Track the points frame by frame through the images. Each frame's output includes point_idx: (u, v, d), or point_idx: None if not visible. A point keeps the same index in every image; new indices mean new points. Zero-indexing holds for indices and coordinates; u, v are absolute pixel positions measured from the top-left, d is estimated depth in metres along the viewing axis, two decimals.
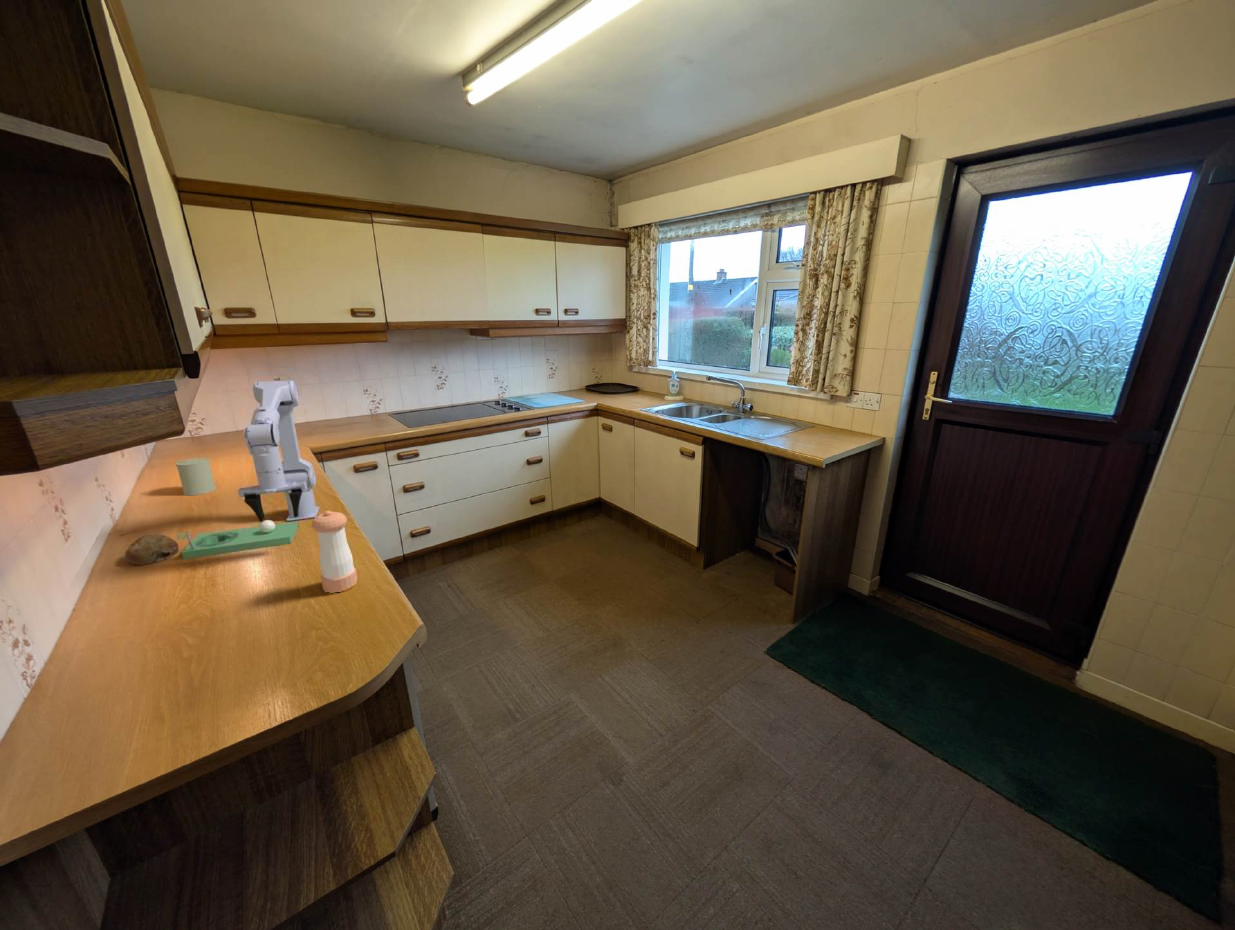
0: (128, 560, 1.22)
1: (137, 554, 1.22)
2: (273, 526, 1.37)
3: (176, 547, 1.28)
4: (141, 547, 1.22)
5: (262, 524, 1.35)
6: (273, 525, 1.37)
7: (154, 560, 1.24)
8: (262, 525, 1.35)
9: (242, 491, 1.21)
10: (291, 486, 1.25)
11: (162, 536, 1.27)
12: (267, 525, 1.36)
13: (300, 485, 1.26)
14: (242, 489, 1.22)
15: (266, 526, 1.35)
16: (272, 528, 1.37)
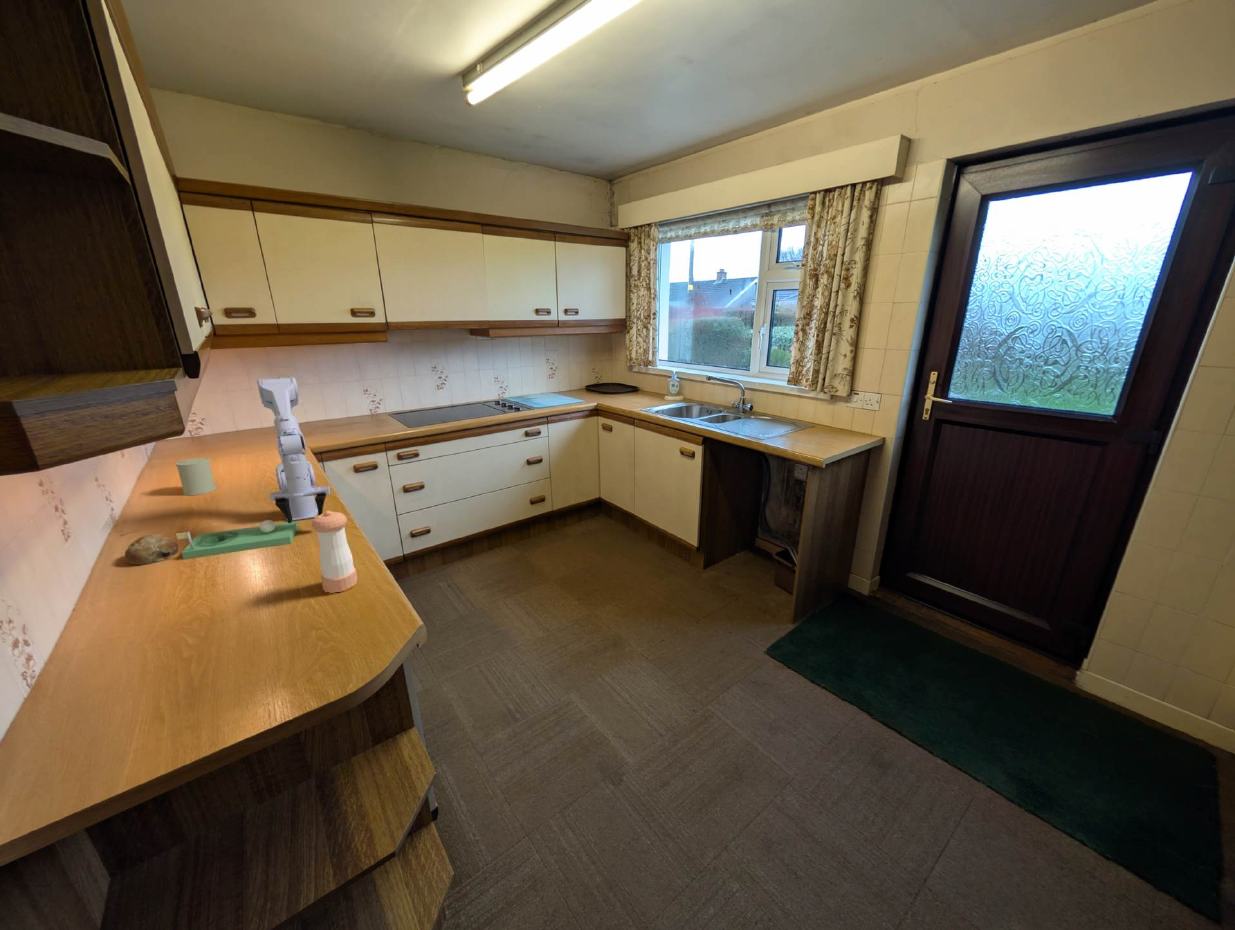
0: (128, 560, 1.22)
1: (137, 554, 1.22)
2: (273, 526, 1.37)
3: (176, 547, 1.28)
4: (141, 547, 1.22)
5: (262, 524, 1.35)
6: (273, 525, 1.37)
7: (154, 560, 1.24)
8: (262, 525, 1.35)
9: (273, 495, 1.35)
10: (316, 491, 1.38)
11: (162, 536, 1.27)
12: (267, 525, 1.36)
13: (324, 490, 1.40)
14: (273, 493, 1.35)
15: (266, 526, 1.35)
16: (272, 528, 1.37)
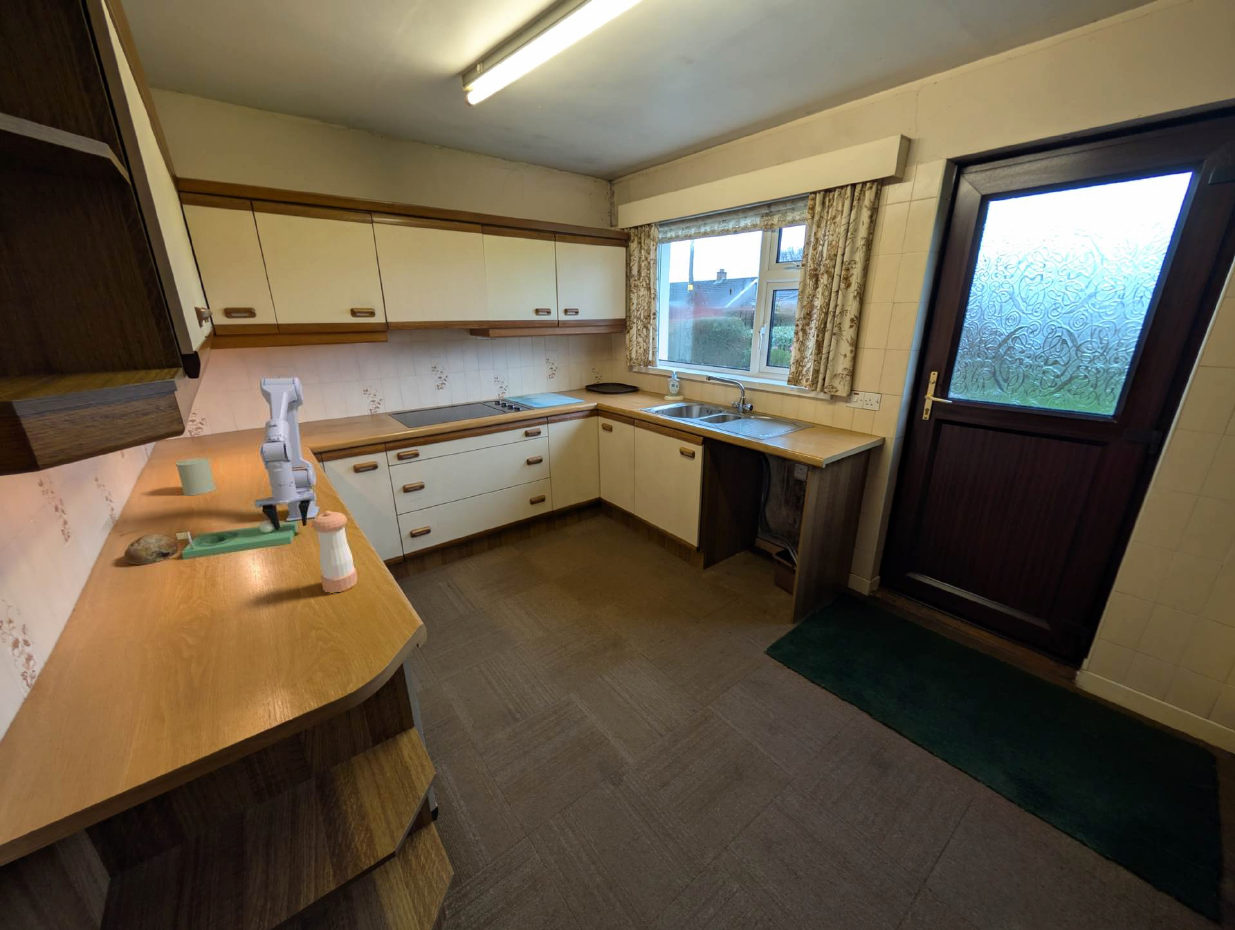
0: (127, 560, 1.22)
1: (137, 554, 1.22)
2: (273, 526, 1.37)
3: (175, 547, 1.28)
4: (141, 547, 1.22)
5: (262, 524, 1.35)
6: (273, 525, 1.37)
7: (153, 560, 1.24)
8: (262, 525, 1.35)
9: (258, 502, 1.34)
10: (302, 497, 1.37)
11: (161, 536, 1.27)
12: (266, 526, 1.36)
13: (310, 496, 1.39)
14: (258, 501, 1.34)
15: (265, 526, 1.35)
16: (272, 528, 1.37)
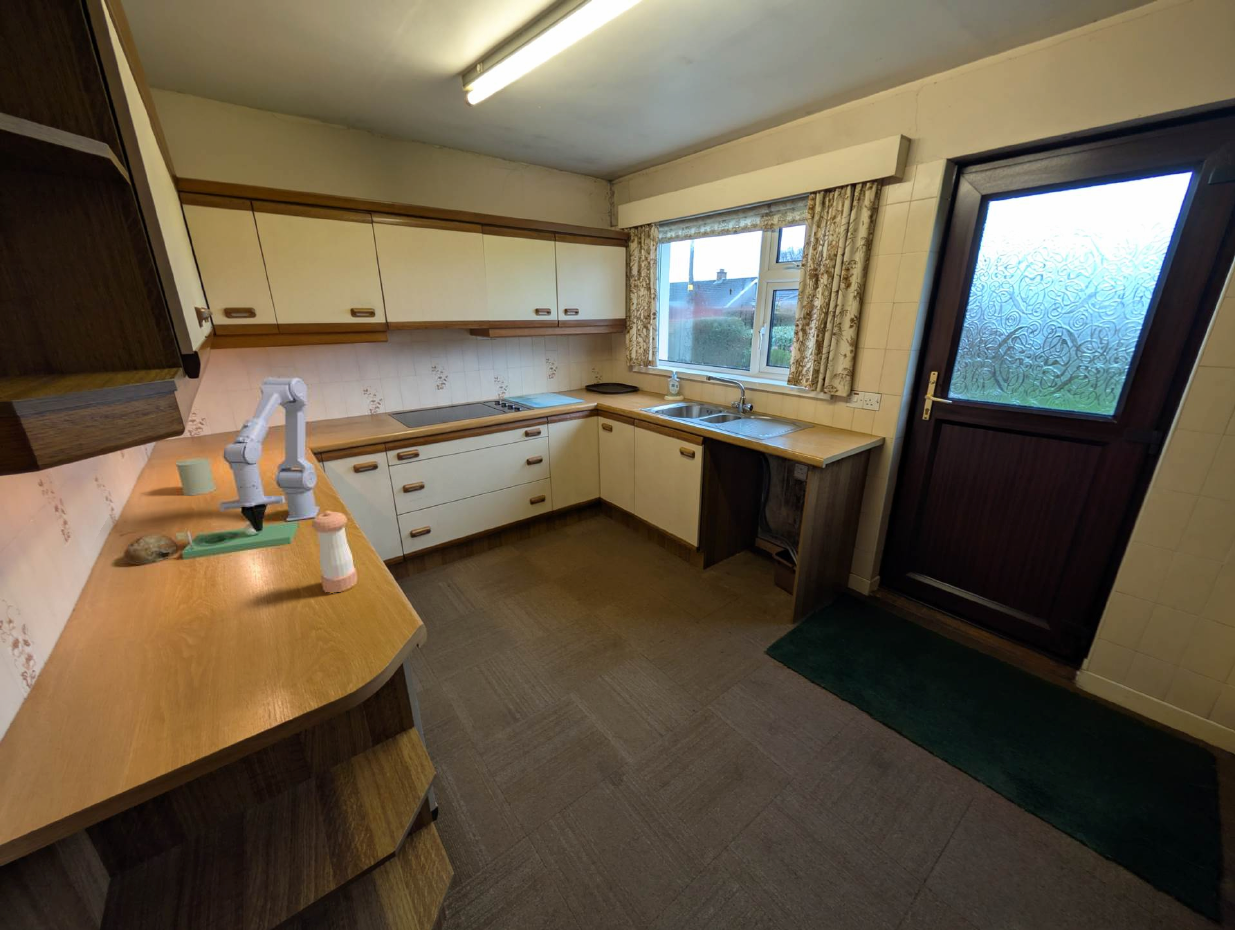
0: (127, 560, 1.22)
1: (136, 554, 1.22)
2: (247, 526, 1.34)
3: (175, 547, 1.28)
4: (140, 547, 1.22)
5: (249, 534, 1.35)
6: (246, 526, 1.34)
7: (153, 560, 1.24)
8: (250, 534, 1.34)
9: (223, 505, 1.30)
10: (269, 500, 1.34)
11: (161, 536, 1.27)
12: (248, 531, 1.34)
13: (278, 499, 1.35)
14: (223, 503, 1.31)
15: (249, 532, 1.34)
16: (250, 526, 1.34)
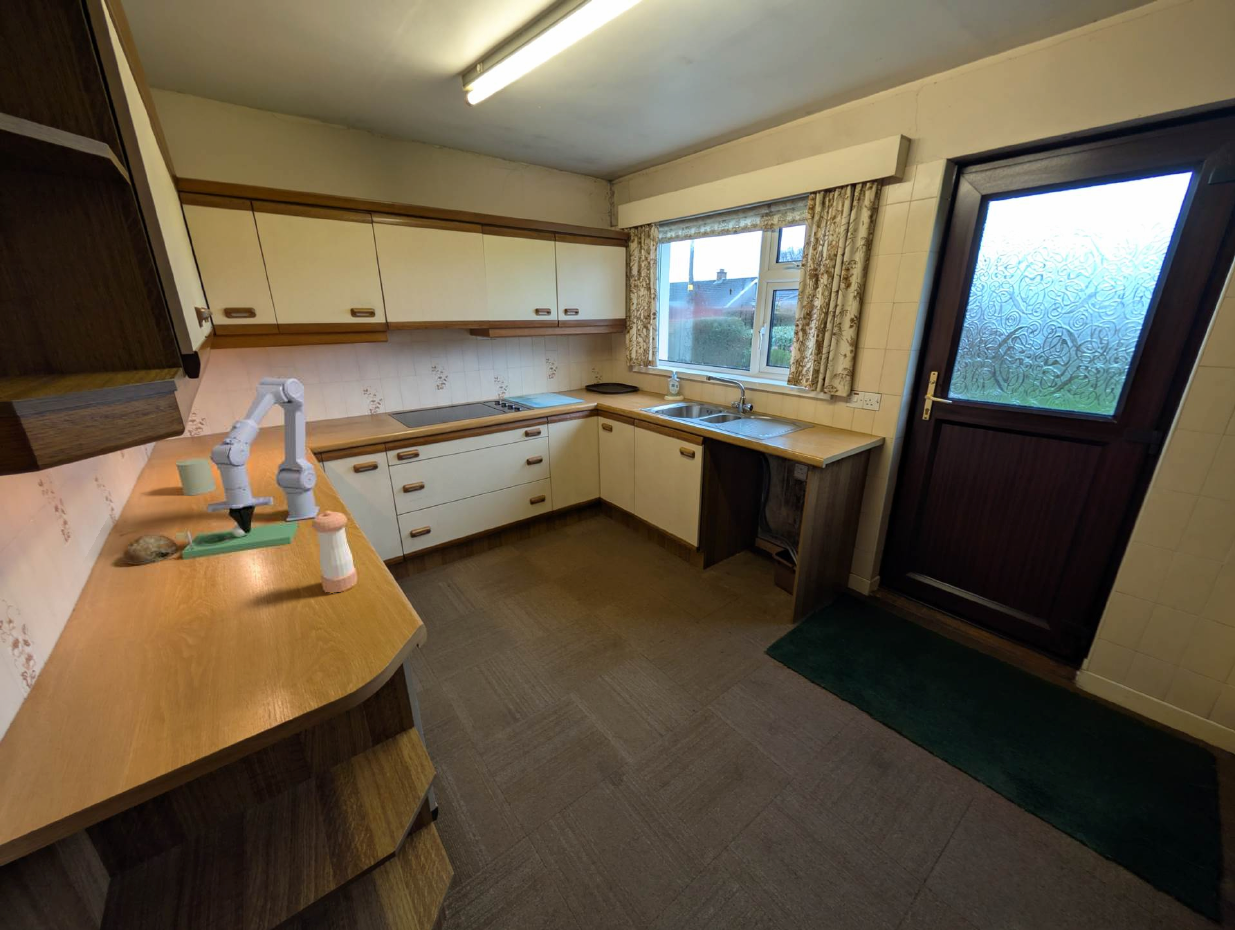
0: (127, 560, 1.22)
1: (136, 554, 1.22)
2: (233, 534, 1.33)
3: (175, 547, 1.28)
4: (140, 547, 1.22)
5: (244, 533, 1.34)
6: (234, 535, 1.33)
7: (153, 560, 1.24)
8: (244, 532, 1.34)
9: (210, 507, 1.29)
10: (257, 502, 1.33)
11: (161, 536, 1.27)
12: (239, 534, 1.33)
13: (266, 501, 1.34)
14: (211, 505, 1.30)
15: (239, 533, 1.33)
16: (233, 533, 1.33)
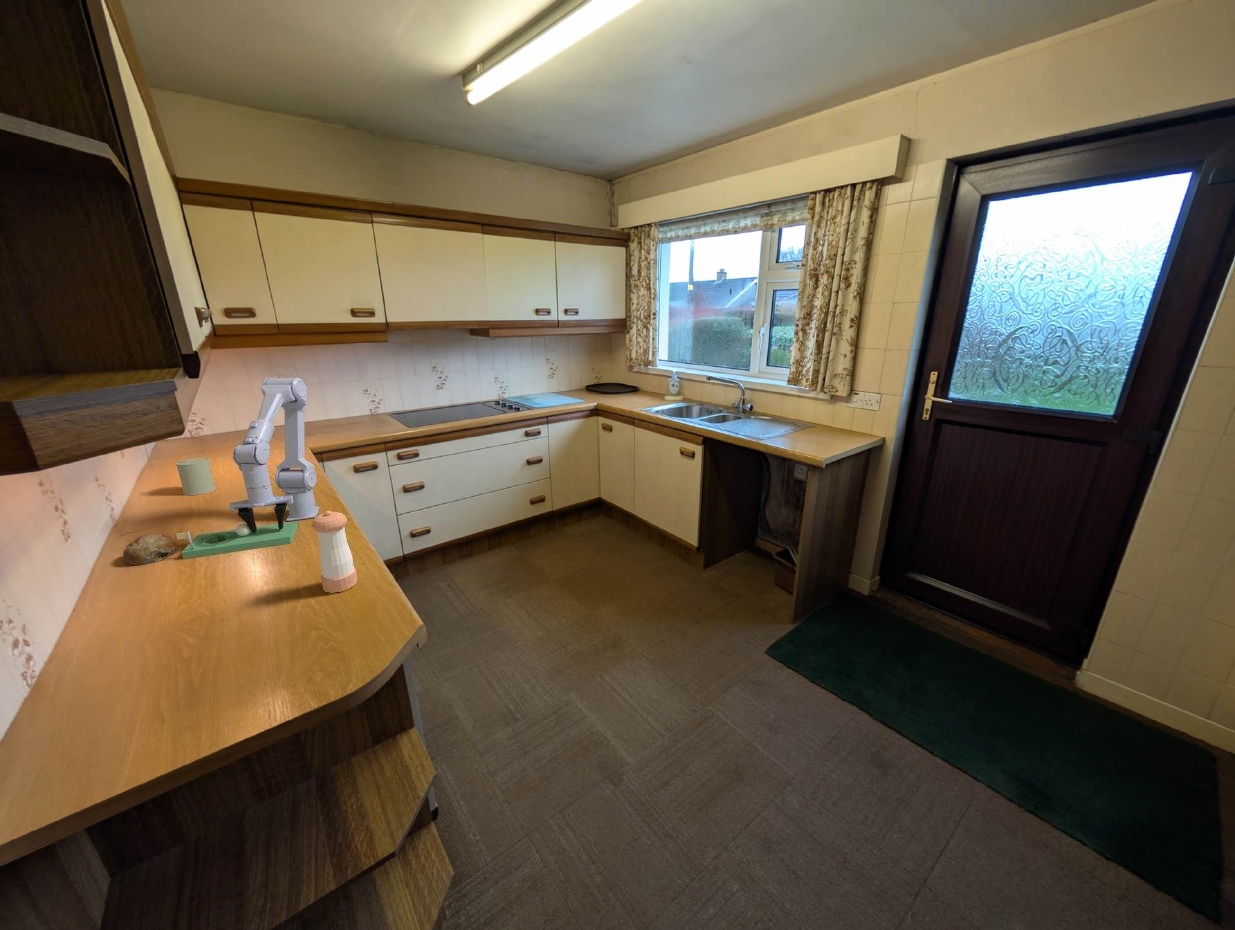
0: (126, 560, 1.22)
1: (135, 554, 1.22)
2: (236, 531, 1.33)
3: (174, 547, 1.28)
4: (139, 547, 1.22)
5: (247, 533, 1.34)
6: (236, 532, 1.33)
7: (152, 560, 1.24)
8: (246, 533, 1.34)
9: (233, 505, 1.31)
10: (278, 500, 1.35)
11: (160, 536, 1.27)
12: (241, 533, 1.33)
13: (287, 499, 1.36)
14: (233, 503, 1.32)
15: (242, 532, 1.33)
16: (236, 530, 1.33)
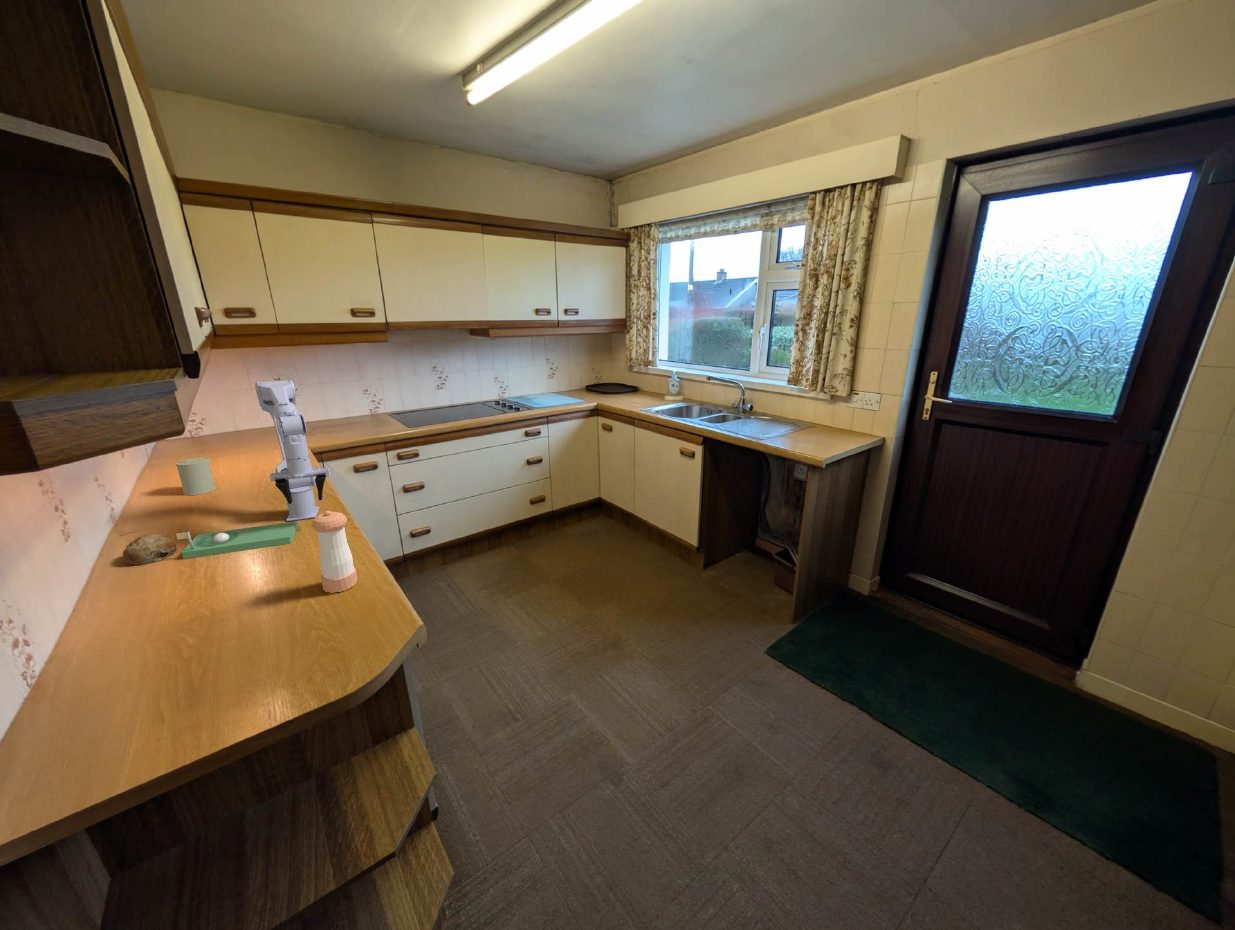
0: (126, 560, 1.22)
1: (135, 554, 1.22)
2: (226, 539, 1.33)
3: (174, 547, 1.28)
4: (139, 547, 1.22)
5: (214, 540, 1.32)
6: (225, 538, 1.33)
7: (152, 560, 1.24)
8: (214, 541, 1.32)
9: (273, 476, 1.35)
10: (316, 472, 1.39)
11: (160, 536, 1.27)
12: (218, 540, 1.32)
13: (324, 471, 1.40)
14: (273, 474, 1.36)
15: (218, 542, 1.32)
16: None
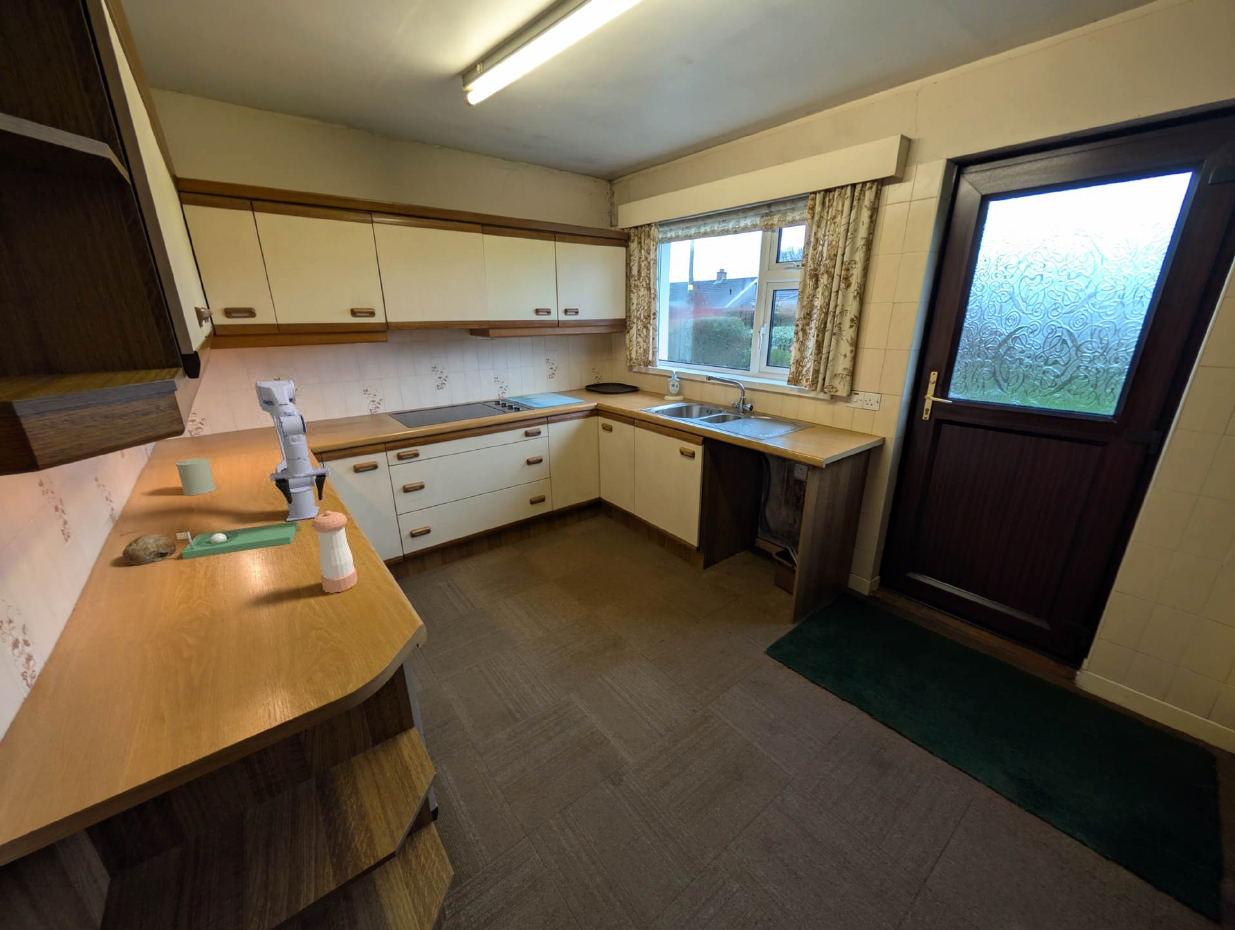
0: (125, 560, 1.22)
1: (135, 554, 1.22)
2: (221, 538, 1.32)
3: (173, 547, 1.28)
4: (139, 547, 1.22)
5: (211, 542, 1.32)
6: (221, 537, 1.32)
7: (151, 560, 1.24)
8: (211, 543, 1.32)
9: (273, 476, 1.35)
10: (316, 472, 1.39)
11: (159, 536, 1.27)
12: (215, 541, 1.31)
13: (324, 471, 1.40)
14: (273, 474, 1.36)
15: (215, 542, 1.31)
16: (222, 540, 1.32)
